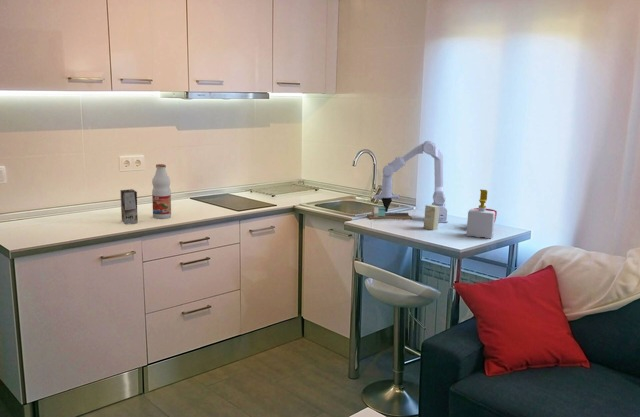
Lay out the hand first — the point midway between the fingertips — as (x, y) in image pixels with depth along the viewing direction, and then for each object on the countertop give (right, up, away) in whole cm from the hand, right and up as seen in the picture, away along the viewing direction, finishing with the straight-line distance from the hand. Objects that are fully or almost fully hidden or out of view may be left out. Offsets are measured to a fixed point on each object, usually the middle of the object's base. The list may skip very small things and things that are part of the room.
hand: (385, 211), depth 325 cm
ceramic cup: (+47, -9, -20) cm, 52 cm away
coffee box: (-133, -5, -28) cm, 136 cm away
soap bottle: (+42, -12, -37) cm, 57 cm away
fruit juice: (-120, -3, -15) cm, 121 cm away
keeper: (-3, -2, 0) cm, 4 cm away
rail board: (+2, -3, +1) cm, 4 cm away
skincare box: (+20, -9, -24) cm, 32 cm away
